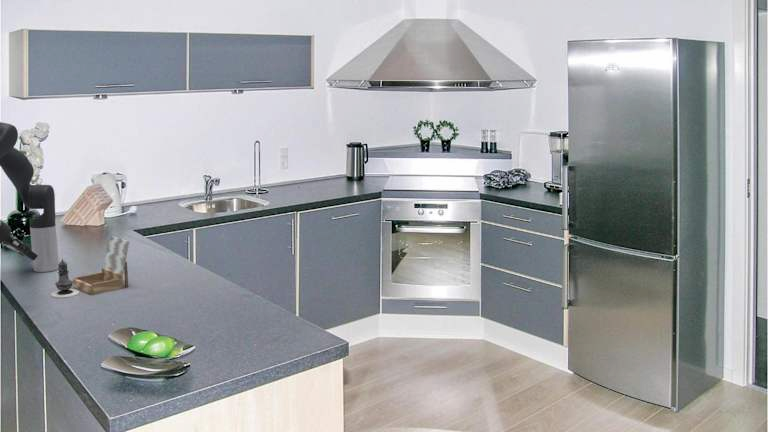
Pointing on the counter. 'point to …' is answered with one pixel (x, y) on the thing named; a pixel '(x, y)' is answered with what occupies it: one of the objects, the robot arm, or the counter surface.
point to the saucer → (75, 292)
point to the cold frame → (107, 270)
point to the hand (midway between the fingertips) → (30, 255)
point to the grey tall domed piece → (63, 280)
